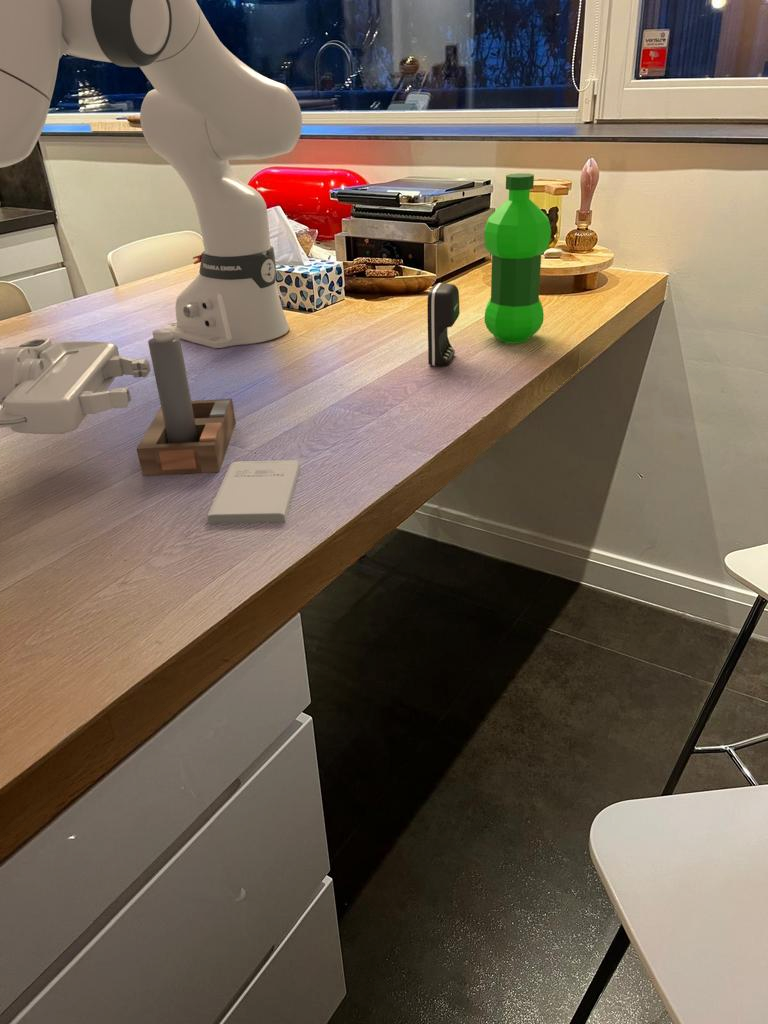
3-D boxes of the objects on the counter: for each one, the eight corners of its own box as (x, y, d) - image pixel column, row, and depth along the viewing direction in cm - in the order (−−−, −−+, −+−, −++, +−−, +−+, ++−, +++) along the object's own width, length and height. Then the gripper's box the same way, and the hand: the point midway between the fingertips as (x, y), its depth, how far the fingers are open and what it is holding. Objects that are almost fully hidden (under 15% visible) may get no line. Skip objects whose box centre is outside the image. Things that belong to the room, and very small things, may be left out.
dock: (218, 472, 91) (213, 443, 89) (142, 476, 91) (135, 447, 89) (236, 422, 104) (232, 395, 102) (168, 425, 104) (163, 399, 102)
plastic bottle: (506, 352, 123) (513, 182, 111) (470, 335, 131) (472, 175, 119) (557, 340, 127) (569, 175, 114) (518, 324, 135) (526, 168, 123)
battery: (452, 368, 118) (452, 293, 112) (427, 367, 119) (426, 292, 113) (460, 353, 124) (461, 280, 118) (437, 352, 125) (436, 280, 119)
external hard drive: (208, 527, 82) (232, 472, 92) (286, 526, 81) (300, 471, 92) (206, 514, 81) (230, 460, 92) (284, 513, 81) (299, 458, 91)
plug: (166, 461, 94) (139, 333, 86) (189, 451, 97) (165, 324, 89) (184, 469, 93) (159, 338, 84) (207, 458, 95) (184, 329, 87)
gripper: (-30, 395, 78) (108, 388, 79) (41, 334, 96) (153, 328, 96) (-11, 452, 82) (121, 445, 82) (54, 382, 99) (163, 377, 99)
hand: (139, 381), depth 89 cm, fingers open, 8 cm apart
